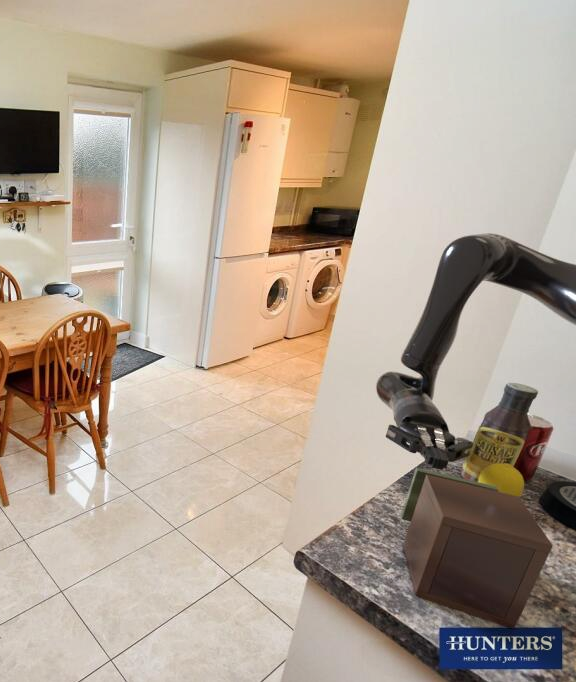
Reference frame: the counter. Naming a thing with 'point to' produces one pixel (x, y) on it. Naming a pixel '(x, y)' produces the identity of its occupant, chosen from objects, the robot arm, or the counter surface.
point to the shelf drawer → (417, 487)
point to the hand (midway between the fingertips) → (439, 464)
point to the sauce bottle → (501, 432)
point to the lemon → (503, 478)
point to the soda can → (533, 447)
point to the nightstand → (474, 550)
